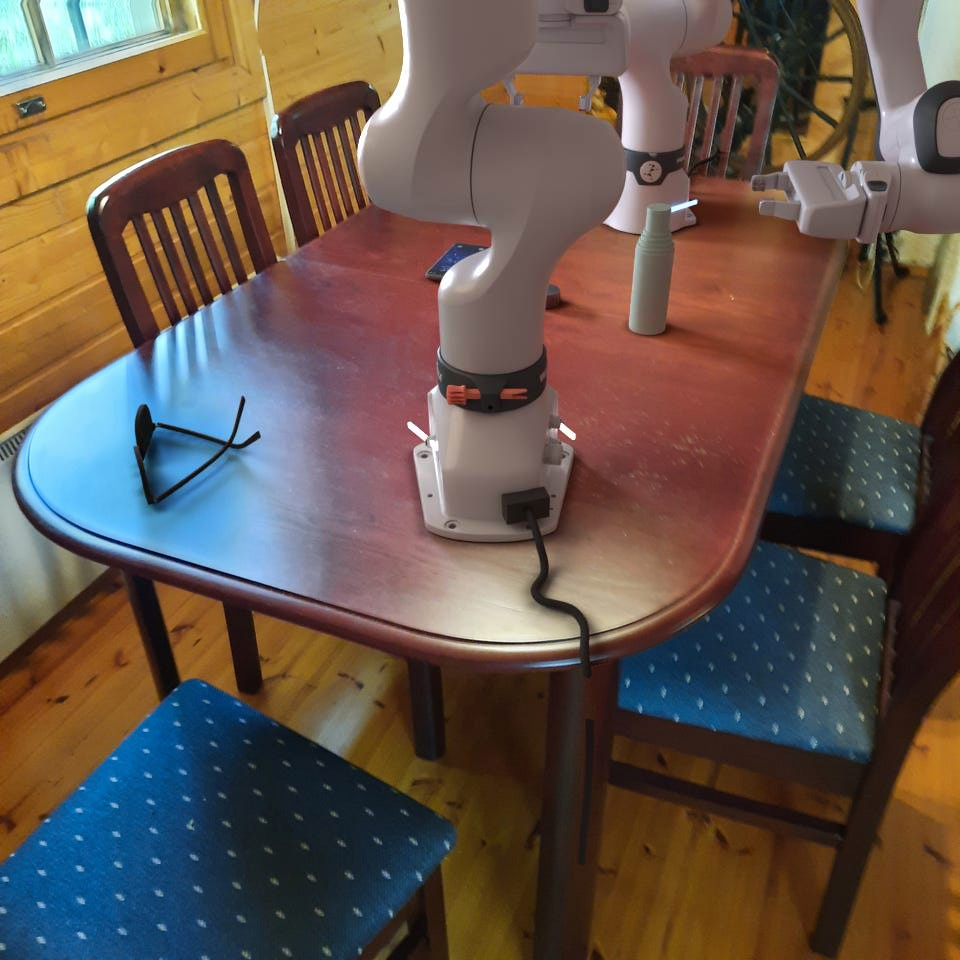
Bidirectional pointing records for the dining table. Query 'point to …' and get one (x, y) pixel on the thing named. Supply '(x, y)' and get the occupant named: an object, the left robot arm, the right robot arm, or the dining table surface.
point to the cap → (553, 296)
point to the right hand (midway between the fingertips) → (755, 194)
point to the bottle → (652, 273)
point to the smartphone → (452, 259)
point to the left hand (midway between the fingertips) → (550, 109)
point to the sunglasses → (147, 427)
